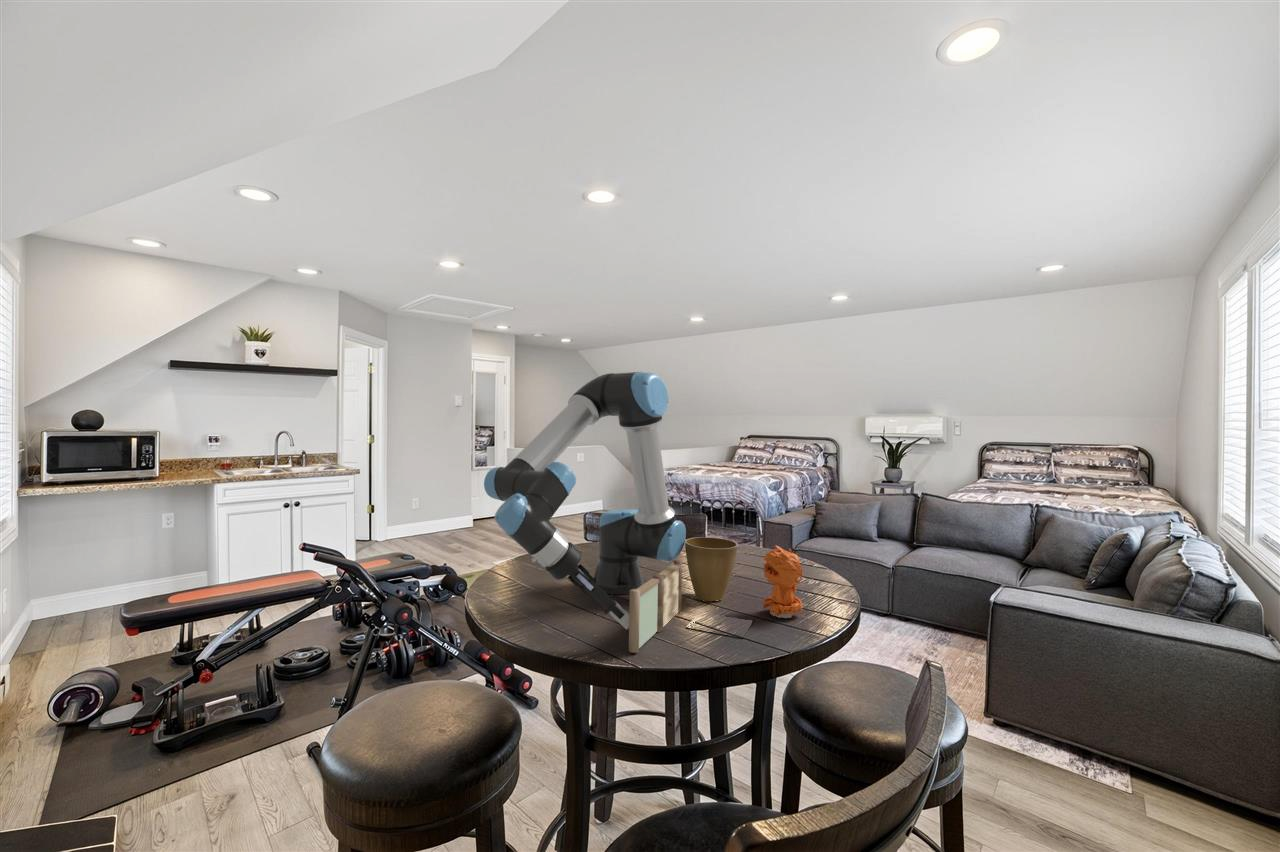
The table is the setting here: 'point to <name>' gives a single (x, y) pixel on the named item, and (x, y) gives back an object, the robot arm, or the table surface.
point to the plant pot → (710, 565)
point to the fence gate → (643, 614)
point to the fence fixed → (669, 593)
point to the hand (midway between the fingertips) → (629, 623)
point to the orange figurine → (782, 581)
